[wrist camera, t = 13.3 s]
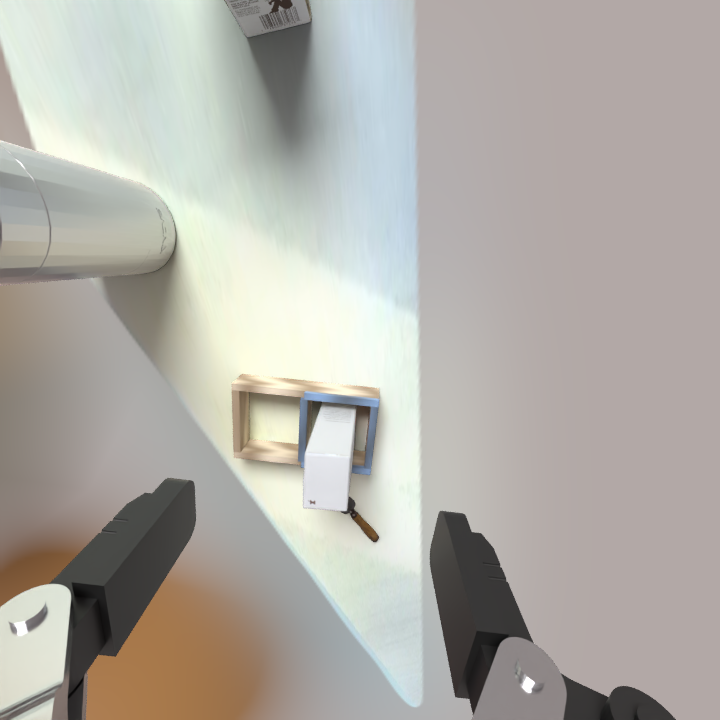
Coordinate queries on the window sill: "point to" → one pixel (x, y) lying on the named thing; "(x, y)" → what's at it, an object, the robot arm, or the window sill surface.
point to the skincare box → (330, 458)
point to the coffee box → (269, 14)
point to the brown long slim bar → (360, 521)
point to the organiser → (308, 394)
